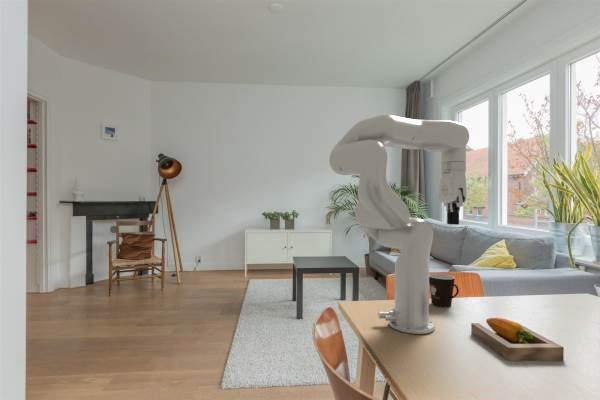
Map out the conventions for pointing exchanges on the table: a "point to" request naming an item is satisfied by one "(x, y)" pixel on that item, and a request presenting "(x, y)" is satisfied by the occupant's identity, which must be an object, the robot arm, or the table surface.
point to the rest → (519, 345)
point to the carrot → (509, 330)
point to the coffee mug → (442, 289)
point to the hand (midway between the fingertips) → (452, 224)
